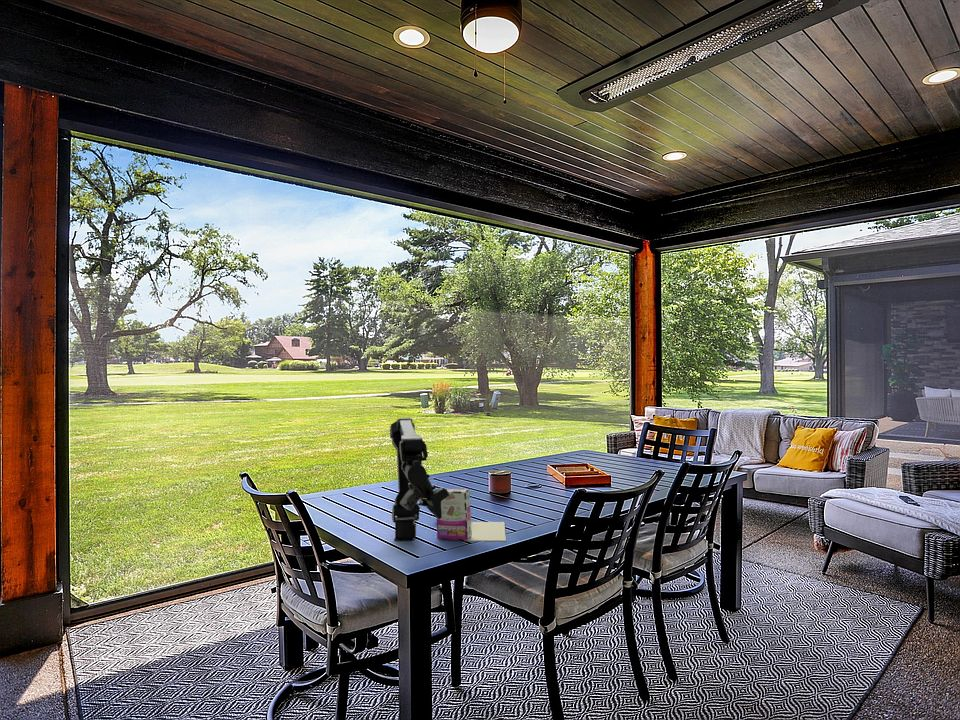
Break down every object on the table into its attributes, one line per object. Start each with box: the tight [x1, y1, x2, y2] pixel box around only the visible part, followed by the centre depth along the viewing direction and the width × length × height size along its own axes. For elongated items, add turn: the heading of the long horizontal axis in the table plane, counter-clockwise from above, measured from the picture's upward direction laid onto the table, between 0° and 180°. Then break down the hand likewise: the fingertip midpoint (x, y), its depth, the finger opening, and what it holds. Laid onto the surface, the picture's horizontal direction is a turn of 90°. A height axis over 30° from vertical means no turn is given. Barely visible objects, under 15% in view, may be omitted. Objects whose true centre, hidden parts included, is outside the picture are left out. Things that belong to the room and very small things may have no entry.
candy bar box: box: [436, 488, 472, 541], centre depth 195 cm, size 11×5×16 cm, turn 73°
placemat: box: [463, 521, 507, 542], centre depth 203 cm, size 14×22×1 cm, turn 179°
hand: (440, 518), depth 181 cm, fingers closed
